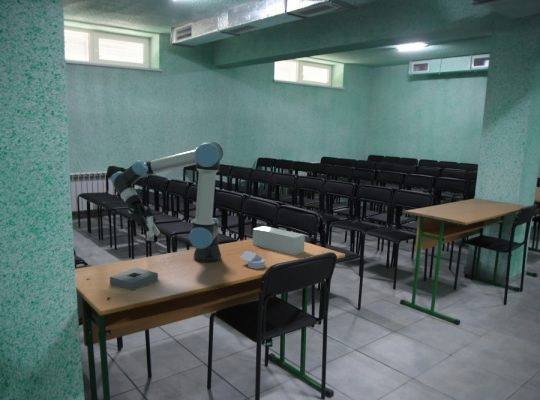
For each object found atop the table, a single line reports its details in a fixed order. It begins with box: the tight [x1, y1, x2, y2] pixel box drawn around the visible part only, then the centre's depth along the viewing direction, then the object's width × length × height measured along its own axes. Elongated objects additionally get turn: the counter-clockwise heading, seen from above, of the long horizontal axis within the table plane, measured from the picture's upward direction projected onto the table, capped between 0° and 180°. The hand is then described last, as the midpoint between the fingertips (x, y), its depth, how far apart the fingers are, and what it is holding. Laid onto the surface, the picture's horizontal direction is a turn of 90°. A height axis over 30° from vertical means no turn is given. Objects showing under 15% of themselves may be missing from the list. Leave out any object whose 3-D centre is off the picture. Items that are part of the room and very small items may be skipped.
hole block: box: [109, 267, 159, 291], centre depth 201 cm, size 16×14×4 cm
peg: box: [145, 216, 154, 242], centre depth 218 cm, size 3×3×12 cm
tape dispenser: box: [239, 250, 266, 270], centre depth 232 cm, size 9×7×13 cm
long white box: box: [251, 225, 306, 256], centre depth 267 cm, size 32×11×11 cm, turn 52°
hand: (155, 235), depth 216 cm, fingers closed on peg, 3 cm apart
